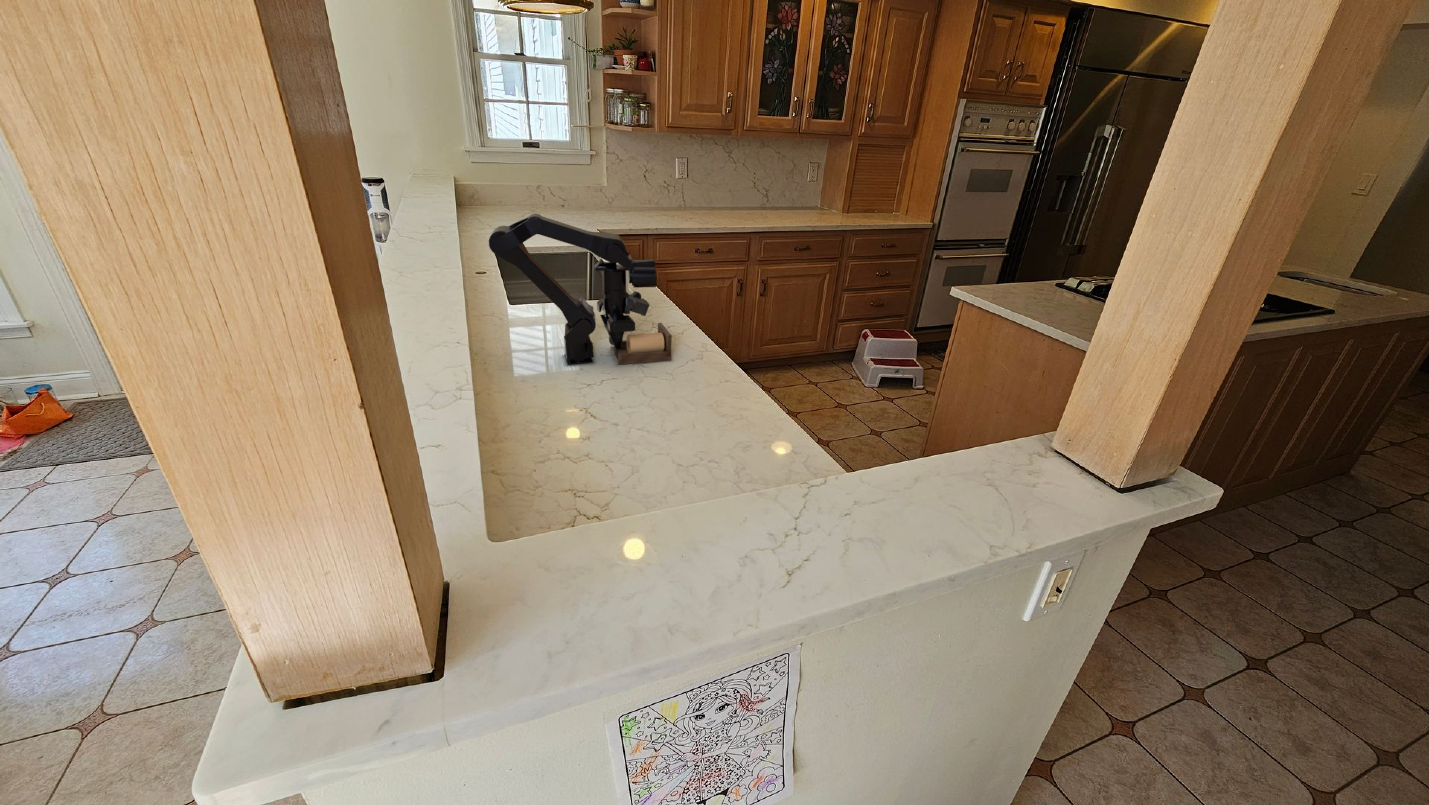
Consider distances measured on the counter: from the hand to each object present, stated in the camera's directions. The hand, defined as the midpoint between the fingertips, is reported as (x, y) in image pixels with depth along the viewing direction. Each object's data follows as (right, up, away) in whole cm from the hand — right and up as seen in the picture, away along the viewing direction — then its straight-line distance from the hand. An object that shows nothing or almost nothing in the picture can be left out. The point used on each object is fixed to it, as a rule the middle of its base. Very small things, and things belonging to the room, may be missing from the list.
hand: (616, 346), depth 158 cm
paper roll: (+7, +1, +2) cm, 8 cm away
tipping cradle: (+5, -2, +3) cm, 7 cm away
